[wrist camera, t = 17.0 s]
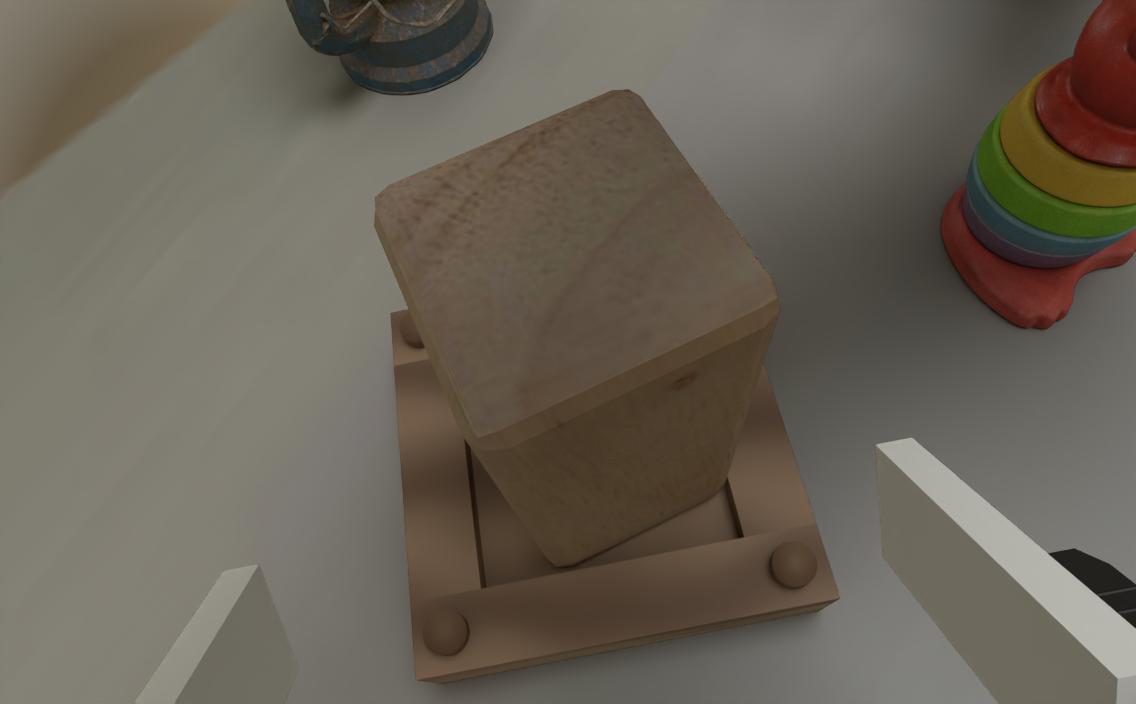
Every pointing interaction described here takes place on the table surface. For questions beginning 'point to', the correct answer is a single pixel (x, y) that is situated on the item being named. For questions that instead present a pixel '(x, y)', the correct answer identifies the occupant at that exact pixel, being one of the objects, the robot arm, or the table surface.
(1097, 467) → the table surface
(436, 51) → the lantern
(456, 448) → the base plate
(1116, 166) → the stacking bear
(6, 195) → the table surface
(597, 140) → the wooden block
